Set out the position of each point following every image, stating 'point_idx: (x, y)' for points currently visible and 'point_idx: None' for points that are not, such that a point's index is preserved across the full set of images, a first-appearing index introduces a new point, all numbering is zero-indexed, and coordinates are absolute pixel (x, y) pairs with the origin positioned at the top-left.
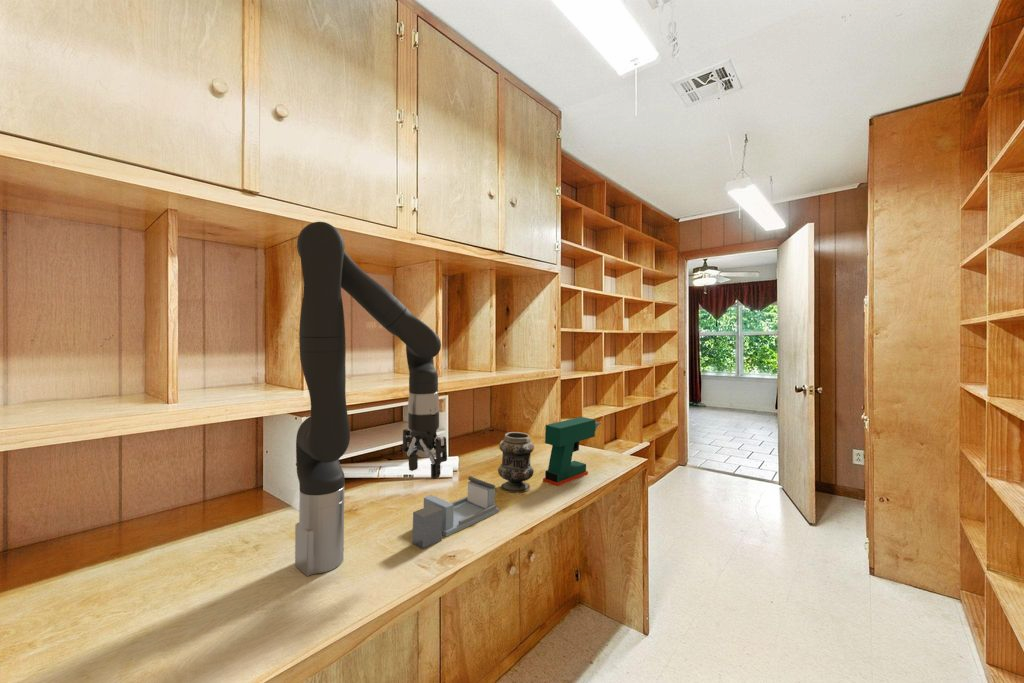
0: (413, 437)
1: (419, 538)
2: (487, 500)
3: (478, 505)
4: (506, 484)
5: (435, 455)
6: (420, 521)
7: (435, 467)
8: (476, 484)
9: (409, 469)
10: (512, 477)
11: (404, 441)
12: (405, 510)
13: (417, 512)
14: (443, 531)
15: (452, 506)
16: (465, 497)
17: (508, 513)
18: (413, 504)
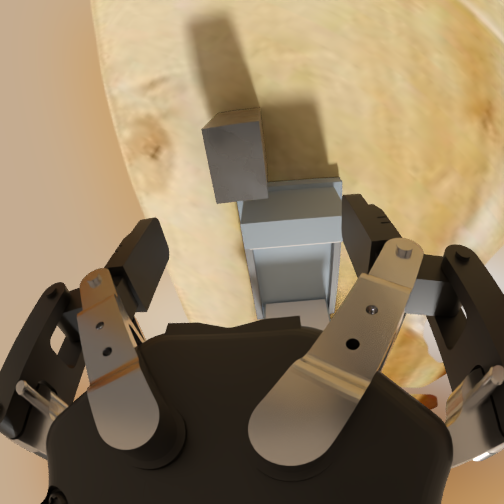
0: (321, 450)
1: (228, 114)
2: (265, 318)
3: (293, 302)
4: None
5: (143, 338)
6: (219, 123)
7: (108, 265)
8: None
9: (356, 194)
10: None
11: (495, 314)
12: (412, 191)
13: (246, 130)
14: None
15: (244, 242)
16: (334, 302)
17: (241, 318)
18: (418, 220)
